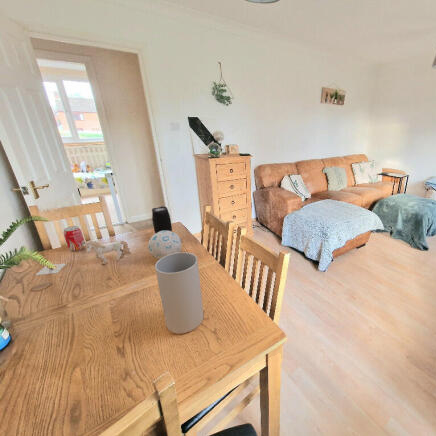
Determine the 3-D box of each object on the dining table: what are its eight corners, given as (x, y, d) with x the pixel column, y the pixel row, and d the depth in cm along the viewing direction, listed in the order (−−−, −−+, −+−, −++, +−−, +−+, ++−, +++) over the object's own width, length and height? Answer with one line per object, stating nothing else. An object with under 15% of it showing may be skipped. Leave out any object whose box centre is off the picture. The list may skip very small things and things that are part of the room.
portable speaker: (172, 241, 140) (167, 210, 133) (154, 243, 137) (148, 211, 130) (174, 235, 148) (169, 205, 140) (157, 236, 145) (151, 206, 137)
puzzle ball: (189, 256, 126) (185, 231, 121) (161, 269, 114) (156, 241, 109) (172, 247, 134) (168, 223, 128) (144, 258, 122) (139, 232, 116)
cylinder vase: (177, 307, 93) (168, 251, 83) (209, 309, 92) (203, 253, 83) (159, 333, 81) (146, 271, 72) (195, 336, 81) (186, 275, 71)
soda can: (69, 247, 128) (62, 227, 124) (86, 244, 132) (80, 224, 128) (68, 253, 123) (61, 232, 119) (86, 249, 127) (79, 229, 123)
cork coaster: (28, 288, 98) (28, 287, 98) (47, 280, 103) (47, 279, 103) (35, 292, 96) (34, 292, 95) (54, 284, 101) (53, 284, 100)
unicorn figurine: (81, 267, 112) (72, 242, 107) (127, 252, 127) (122, 229, 122) (86, 273, 109) (77, 248, 103) (133, 257, 123) (127, 233, 118)
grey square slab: (35, 275, 106) (33, 271, 105) (46, 265, 113) (44, 261, 112) (57, 272, 108) (55, 269, 107) (66, 263, 115) (65, 260, 114)
